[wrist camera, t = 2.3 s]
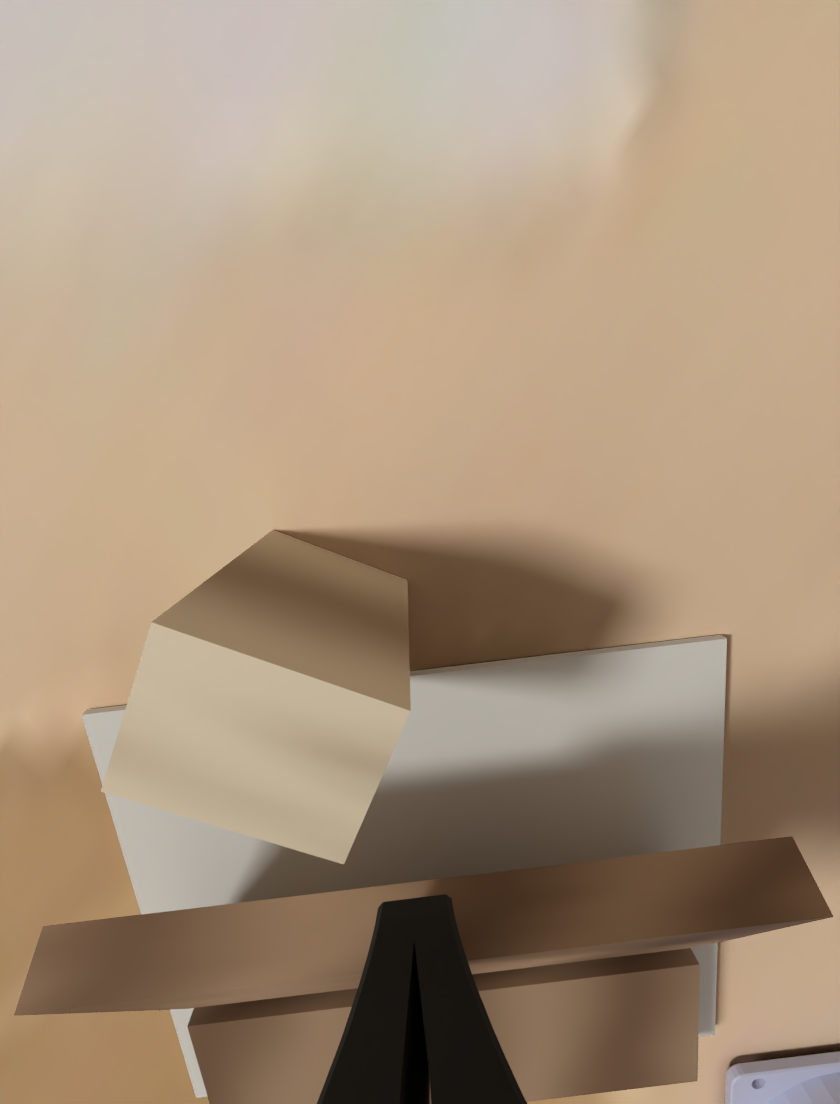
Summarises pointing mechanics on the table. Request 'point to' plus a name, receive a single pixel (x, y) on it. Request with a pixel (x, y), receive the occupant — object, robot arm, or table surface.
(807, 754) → the table surface
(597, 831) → the underlay
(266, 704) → the block
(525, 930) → the board
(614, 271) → the table surface
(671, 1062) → the laid plank
